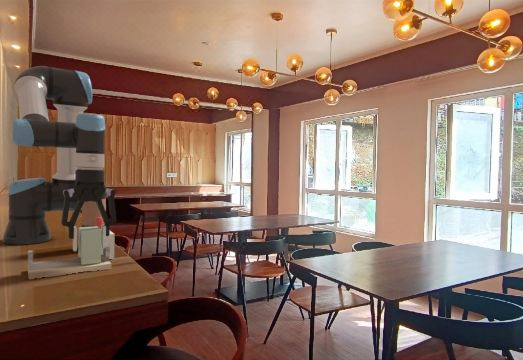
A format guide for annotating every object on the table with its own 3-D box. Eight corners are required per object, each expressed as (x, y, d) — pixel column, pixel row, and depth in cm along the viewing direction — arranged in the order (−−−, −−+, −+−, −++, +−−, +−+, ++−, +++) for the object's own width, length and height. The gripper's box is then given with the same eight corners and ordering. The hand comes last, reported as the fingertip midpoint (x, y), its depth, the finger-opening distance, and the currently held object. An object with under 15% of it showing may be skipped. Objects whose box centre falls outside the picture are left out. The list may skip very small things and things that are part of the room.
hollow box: (85, 256, 119) (85, 231, 119) (108, 253, 123) (109, 229, 122) (89, 262, 112) (90, 235, 112) (114, 259, 116) (114, 233, 116)
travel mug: (96, 251, 125) (96, 192, 124) (76, 250, 126) (76, 191, 126) (110, 246, 132) (110, 191, 132) (91, 245, 134) (91, 190, 133)
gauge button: (94, 232, 118) (94, 217, 117) (104, 232, 119) (104, 216, 119) (95, 234, 115) (95, 218, 115) (106, 233, 117) (106, 218, 117)
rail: (27, 270, 102) (27, 249, 102) (105, 261, 113) (105, 242, 113) (28, 279, 95) (28, 256, 94) (111, 268, 106) (111, 248, 105)
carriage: (78, 259, 108) (78, 227, 107) (96, 257, 111) (97, 226, 110) (81, 264, 103) (81, 230, 102) (100, 262, 105) (101, 229, 105)
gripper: (51, 168, 97) (51, 255, 98) (129, 169, 108) (128, 247, 109) (49, 167, 103) (48, 249, 104) (123, 169, 114) (122, 243, 115)
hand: (89, 248), depth 106 cm, fingers open, 7 cm apart
